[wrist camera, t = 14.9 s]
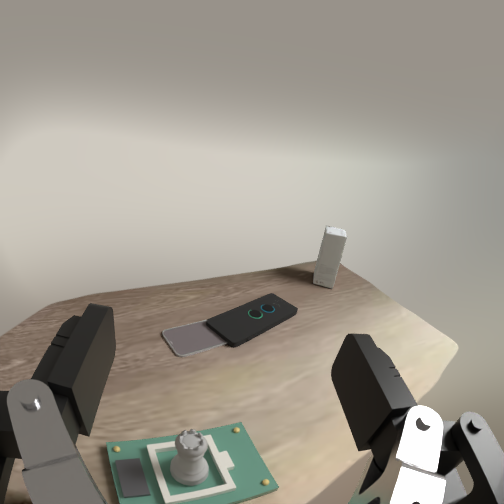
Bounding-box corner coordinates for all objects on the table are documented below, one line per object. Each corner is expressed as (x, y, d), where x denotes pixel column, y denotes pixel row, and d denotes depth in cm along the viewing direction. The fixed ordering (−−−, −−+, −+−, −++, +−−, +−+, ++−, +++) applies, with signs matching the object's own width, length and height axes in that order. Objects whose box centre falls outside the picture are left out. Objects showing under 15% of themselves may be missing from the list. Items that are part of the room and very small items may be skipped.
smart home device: (299, 308, 66) (235, 343, 52) (297, 315, 67) (233, 350, 53) (271, 291, 71) (204, 319, 57) (269, 298, 72) (203, 326, 57)
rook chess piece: (215, 479, 28) (223, 448, 25) (181, 492, 25) (181, 464, 22) (196, 451, 31) (200, 416, 28) (163, 462, 28) (160, 428, 25)
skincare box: (332, 289, 81) (348, 238, 75) (311, 283, 82) (325, 232, 76) (332, 276, 88) (346, 229, 83) (312, 271, 89) (326, 223, 84)
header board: (126, 524, 20) (123, 519, 19) (107, 446, 29) (104, 438, 28) (276, 490, 28) (281, 484, 27) (239, 426, 37) (242, 418, 36)
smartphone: (250, 335, 57) (178, 357, 47) (249, 339, 57) (178, 360, 48) (228, 314, 62) (160, 330, 52) (227, 317, 62) (160, 334, 53)
